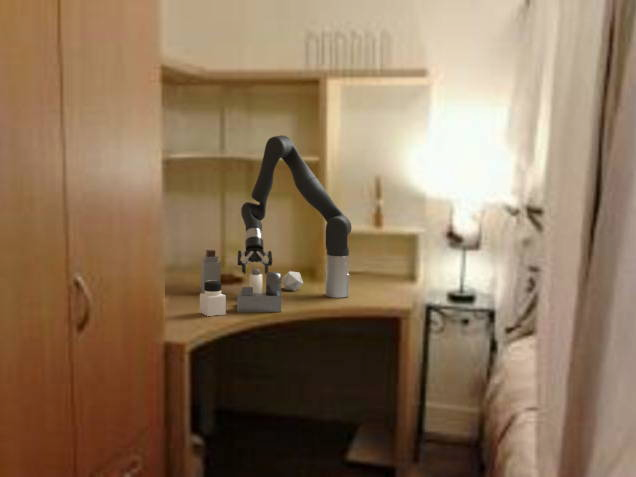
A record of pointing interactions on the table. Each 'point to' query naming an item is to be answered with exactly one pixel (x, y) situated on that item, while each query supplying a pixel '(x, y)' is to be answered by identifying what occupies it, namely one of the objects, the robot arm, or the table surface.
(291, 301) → the table surface
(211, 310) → the medicine bottle
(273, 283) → the block
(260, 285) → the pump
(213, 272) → the perfume bottle
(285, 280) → the die
